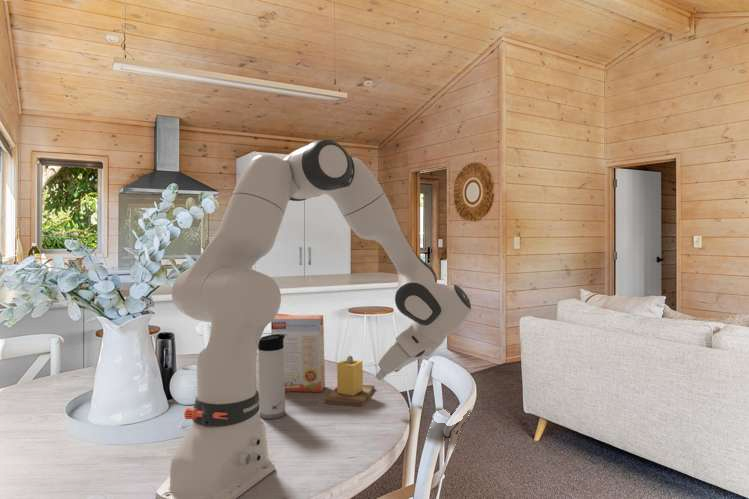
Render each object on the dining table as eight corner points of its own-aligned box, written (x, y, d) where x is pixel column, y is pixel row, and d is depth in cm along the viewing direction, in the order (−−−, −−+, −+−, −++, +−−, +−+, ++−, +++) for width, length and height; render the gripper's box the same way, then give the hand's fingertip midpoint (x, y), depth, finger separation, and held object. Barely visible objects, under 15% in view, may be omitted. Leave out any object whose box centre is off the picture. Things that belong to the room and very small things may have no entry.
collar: (353, 395, 139) (353, 365, 138) (337, 392, 141) (337, 363, 141) (362, 389, 143) (362, 361, 143) (347, 387, 146) (346, 359, 145)
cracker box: (325, 386, 151) (324, 314, 150) (321, 392, 145) (320, 318, 144) (278, 385, 153) (276, 314, 152) (272, 391, 147) (270, 317, 146)
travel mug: (280, 420, 126) (279, 337, 124) (255, 418, 127) (253, 337, 126) (290, 410, 132) (288, 332, 131) (265, 409, 133) (263, 331, 132)
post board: (361, 406, 134) (361, 363, 134) (324, 403, 137) (323, 361, 136) (374, 388, 148) (373, 350, 147) (340, 386, 150) (339, 348, 150)
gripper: (428, 323, 141) (396, 356, 146) (396, 335, 123) (360, 372, 128) (444, 341, 139) (411, 374, 144) (413, 355, 121) (376, 393, 126)
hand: (386, 373), depth 136 cm, fingers open, 8 cm apart
